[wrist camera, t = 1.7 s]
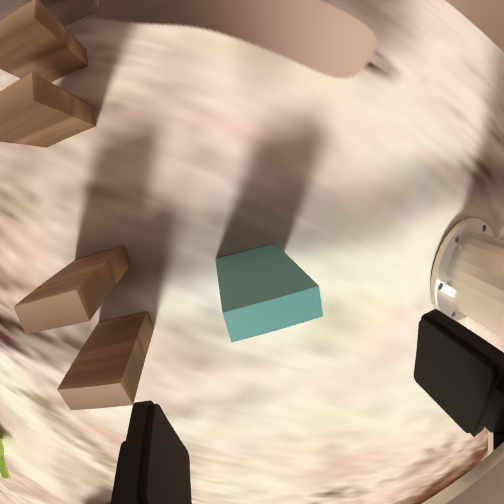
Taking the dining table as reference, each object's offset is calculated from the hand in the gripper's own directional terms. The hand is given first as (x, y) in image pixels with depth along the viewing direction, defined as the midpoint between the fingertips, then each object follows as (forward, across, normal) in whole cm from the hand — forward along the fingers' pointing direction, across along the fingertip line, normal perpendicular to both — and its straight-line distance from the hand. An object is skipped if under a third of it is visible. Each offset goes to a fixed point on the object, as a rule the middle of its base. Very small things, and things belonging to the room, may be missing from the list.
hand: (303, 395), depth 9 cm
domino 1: (+16, +11, -21) cm, 29 cm away
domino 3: (+16, +11, -3) cm, 20 cm away
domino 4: (+16, +11, +3) cm, 20 cm away
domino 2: (+16, +11, -15) cm, 25 cm away
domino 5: (+16, -1, 0) cm, 16 cm away
